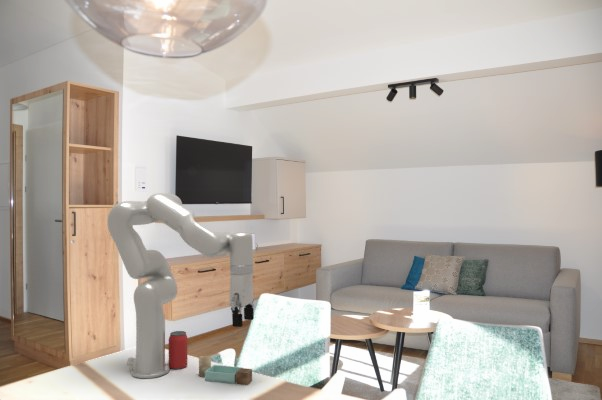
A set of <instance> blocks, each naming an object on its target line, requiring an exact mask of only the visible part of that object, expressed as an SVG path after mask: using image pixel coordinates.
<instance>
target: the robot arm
mask: <svg viewBox="0 0 602 400" xmlns="http://www.w3.org/2000/svg"><path fill="white" fill-rule="evenodd" d="M195 218H196V215H195V212H194V211H192V210H191V209H189V208H188V207H186V206H184V205H183V202H182V200H181V198H180V197H179V196H177V195H176V194H174V193H164V192H163V193H162V192H161V193H160V192H157V193H153V194H152V195H150V196H149V197H148V199H147V200H145V201H142V200H141V201H139V200H138V201H137V200H136V201H135V200H134V201H133V200H126V201H121V202H117V204H115V205H114V206H113V207H111V208H110V211H109V213H108V216H107V221H106V222H107V223H106V224H107V229H108V232H109V234H110V236H111V239H112V240H113V242H114V243H115V246H116V249H117V252H118V253H119V256H120V258H121V260H122V264H123V265H124V267H125V270H126V272H127V275H129V277H130V278H132V279H135V280H143V279H146V278H147V279H148V280H145V281H143V282H141V283H140V284H139V285H137V286H136V288H135V289H134V293H133V303H134V308H135V309H134V310H135V320H136V321H135V322H136V323H135V326H136V330H135V333H136V335H135V345H136V346H135V353H136V354H135V357H128V359H127V361H126V365H127V366H132V369H131V371H130V374H131V376H132V377H134V378H137V379H152V378H153V379H154V378H158V377H162V376H164V375H167V374H168V373H169V372H170V367H169V364H166V361H165V360H166V317H165V312H164V309H163V305H166V304H168V303H170V302H172V301H173V300H175V299H176V297H177V294H178V284H177V281H176V279H175V277H174V275H173V273H172V270H171V268H170V266H169V263H168V261H167V258H166V257H165V256H164V254H163V253H162V252H160V251H158V250H156V249H147V248H146V246H145V244H144V242H143V239H142V237H141V235H140V234H139V233H138V232H137V231H136V230H135V228H134V227H133V226H141V225H142V226H143V225H149V224H150V225H151V224H153V223H157V222H161V223H162V224H164V225H166V226H167V227H169V228H170V229H172V230H173V231H175V232H176V233H178V234H179V237H180V238H181V239H182V240H183V242H184V243H186V244H187V245H188V246H189V247H191V248H192V249H194V250H195V251H197V252H198V253H200V254H202V255H204V256H205V257H212V258H213V257H214V258H215V257H218V256H222V255H227V254H229V270H230V271H229V272H230V273H229V274H230V279H229V280H230V281H229V306H230V310H231V317H232V327H235V328H237V327H239V328H241V327H243V319H244V320H246V321H250V320H251V321H252V320H254V318H255V317H254V306H255V305H254V302H255V301H254V296H255V293H254V283H253V282H254V281H253V275H254V254H253V252H254V249H253V248H254V246H253V236H252V234H251V233H250V232H226V231H222V232H221V231H220V232H211V231H210V230H208V229H206V228H204V227H202V225H200V224H198V223H197V222H196V221H195ZM242 311H243V313H242Z"/></svg>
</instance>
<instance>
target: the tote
mask: <svg viewBox="0 0 602 400" xmlns="http://www.w3.org/2000/svg"><path fill="white" fill-rule="evenodd" d="M240 368H243V367H242V366H240V367H239V366H230V365H221V364H213V365H211V367H210V368H209V369H208V370H206V371H205V377H204V382H215V383H221V384H222V383H223V384H224V383H225V384H232V385H235V384H236V372H237V371H238V370H239V369H240Z"/></svg>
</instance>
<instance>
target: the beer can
mask: <svg viewBox="0 0 602 400" xmlns="http://www.w3.org/2000/svg"><path fill="white" fill-rule="evenodd" d="M188 342H189V341H188V336H187V332H186V331H184V330H183V331H182V330H180V331H179V330H176V331H172V332H170V333H169V337H168V366H169V369H172V370H181V369H185V368H186V367H187V366H188V347H189V345H188Z"/></svg>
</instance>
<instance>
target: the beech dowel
mask: <svg viewBox="0 0 602 400" xmlns="http://www.w3.org/2000/svg"><path fill="white" fill-rule="evenodd" d="M210 367H212V356H211V355H201V356H199V357H198V376H199V377H200V378H205V371H206V370H208V369H209V368H210Z"/></svg>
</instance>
